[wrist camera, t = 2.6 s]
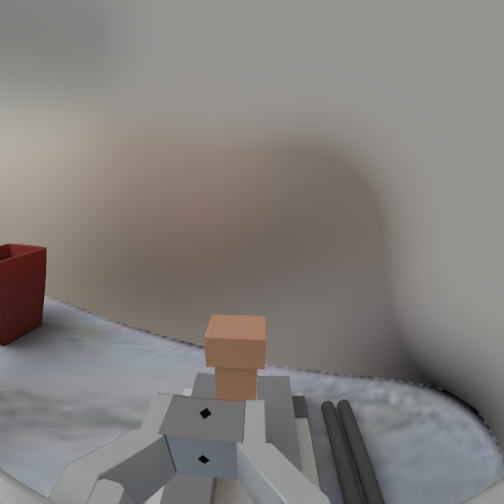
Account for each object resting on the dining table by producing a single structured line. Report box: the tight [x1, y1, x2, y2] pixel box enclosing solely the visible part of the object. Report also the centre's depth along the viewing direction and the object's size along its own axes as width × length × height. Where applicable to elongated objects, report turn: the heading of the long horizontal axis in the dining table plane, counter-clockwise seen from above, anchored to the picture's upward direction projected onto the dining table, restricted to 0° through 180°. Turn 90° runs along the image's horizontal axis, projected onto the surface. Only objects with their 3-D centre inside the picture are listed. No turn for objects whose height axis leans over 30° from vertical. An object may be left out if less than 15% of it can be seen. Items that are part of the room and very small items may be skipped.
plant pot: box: [0, 244, 46, 345], centre depth 42 cm, size 19×19×17 cm
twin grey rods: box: [321, 400, 385, 504], centre depth 23 cm, size 4×20×2 cm, turn 179°
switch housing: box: [147, 373, 320, 504], centre depth 23 cm, size 16×24×4 cm
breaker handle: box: [204, 314, 266, 400], centre depth 22 cm, size 4×4×16 cm
